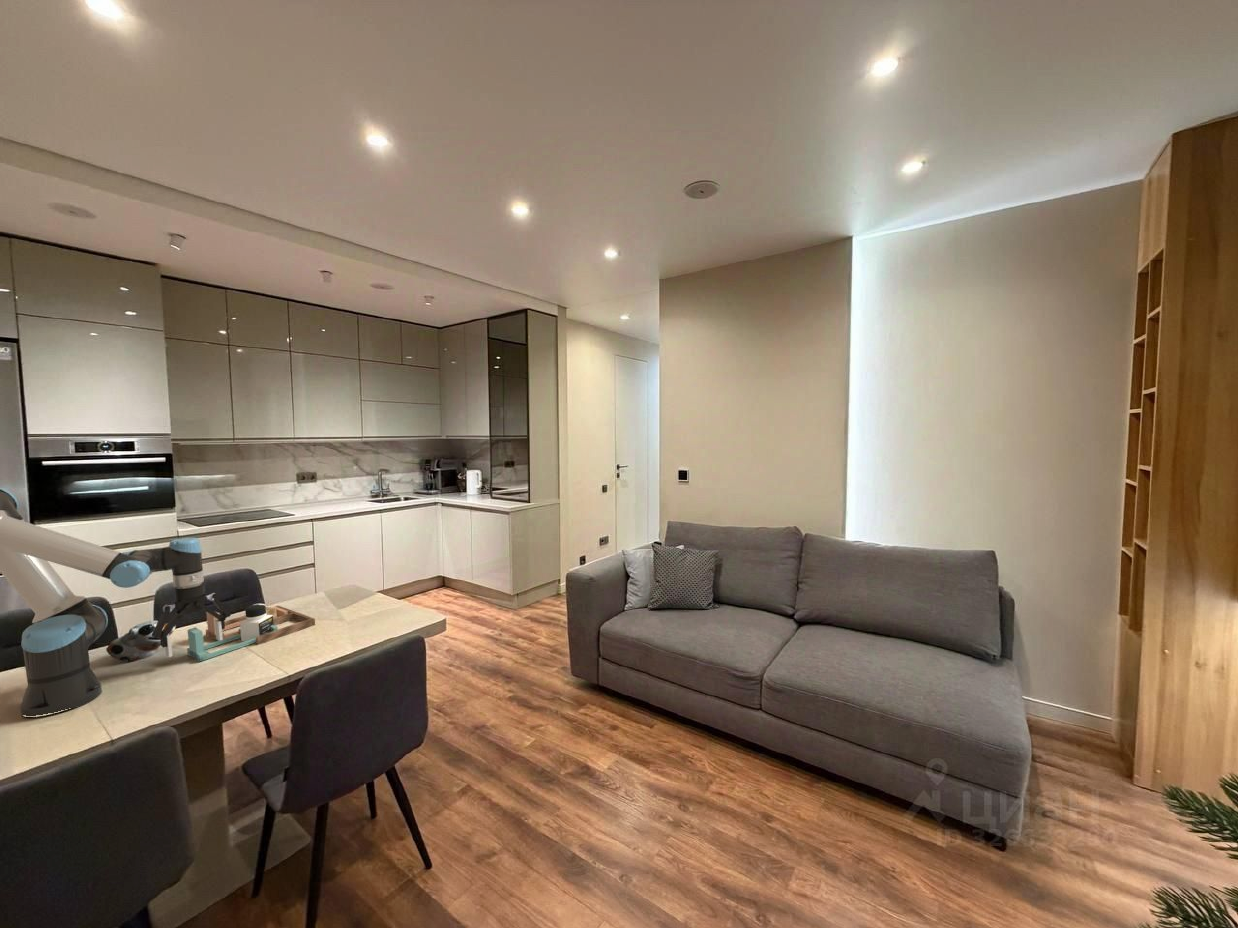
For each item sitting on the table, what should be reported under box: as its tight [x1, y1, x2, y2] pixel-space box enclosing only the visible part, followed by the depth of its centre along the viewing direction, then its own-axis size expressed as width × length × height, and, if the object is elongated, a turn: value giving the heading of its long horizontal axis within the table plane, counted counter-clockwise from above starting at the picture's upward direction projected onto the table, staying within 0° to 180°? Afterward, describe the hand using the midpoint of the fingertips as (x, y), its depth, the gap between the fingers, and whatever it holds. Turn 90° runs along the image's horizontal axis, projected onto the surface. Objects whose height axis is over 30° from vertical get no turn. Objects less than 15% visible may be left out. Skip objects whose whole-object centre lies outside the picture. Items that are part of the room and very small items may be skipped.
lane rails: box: [224, 605, 316, 645], centre depth 188 cm, size 19×28×2 cm
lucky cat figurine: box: [106, 620, 177, 663], centre depth 167 cm, size 15×12×14 cm
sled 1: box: [205, 606, 288, 641], centre depth 188 cm, size 23×10×9 cm, turn 149°
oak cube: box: [266, 606, 277, 618], centre depth 193 cm, size 5×5×5 cm
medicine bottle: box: [239, 603, 274, 642], centre depth 178 cm, size 7×7×12 cm
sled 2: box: [186, 625, 279, 662], centre depth 172 cm, size 23×10×9 cm, turn 149°
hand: (195, 647), depth 163 cm, fingers open, 13 cm apart
